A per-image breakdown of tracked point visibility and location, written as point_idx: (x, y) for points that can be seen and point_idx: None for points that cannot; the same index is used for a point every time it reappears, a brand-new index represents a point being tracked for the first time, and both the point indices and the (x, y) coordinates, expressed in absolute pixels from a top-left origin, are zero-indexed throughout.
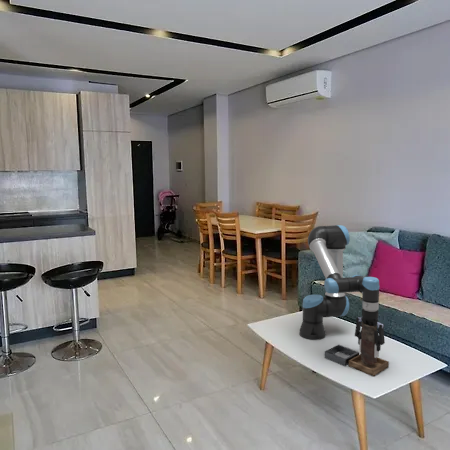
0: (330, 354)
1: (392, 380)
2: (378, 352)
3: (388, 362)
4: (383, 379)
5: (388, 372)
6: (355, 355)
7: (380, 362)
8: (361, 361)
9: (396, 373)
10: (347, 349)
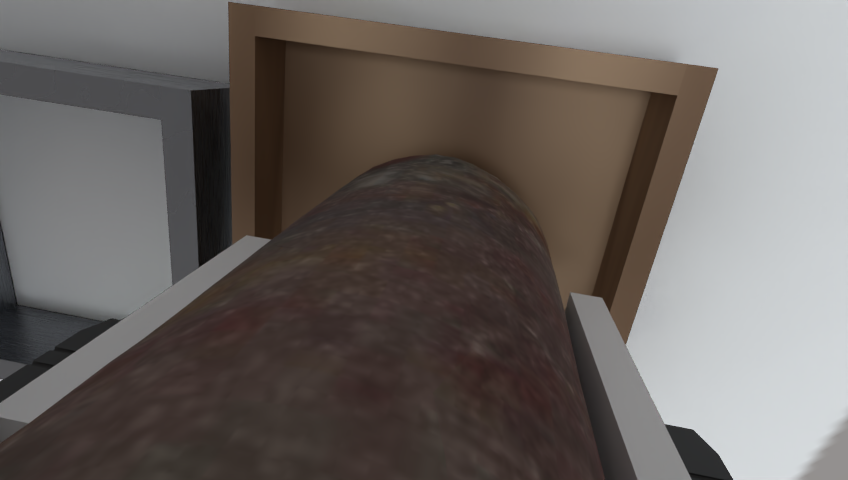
0: (8, 373)
1: (784, 373)
2: (620, 352)
3: (708, 81)
4: (682, 402)
5: (703, 218)
6: (206, 201)
7: (556, 80)
8: (321, 192)
9: (814, 179)
10: (12, 94)
